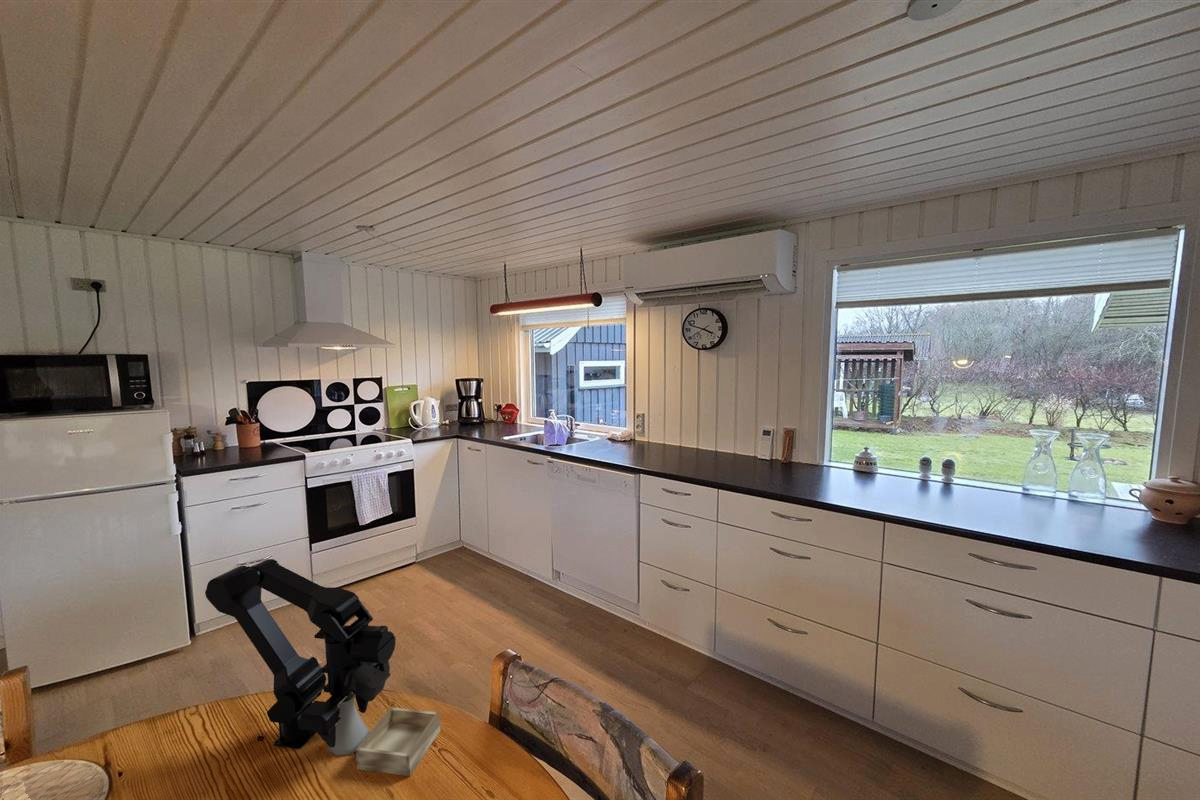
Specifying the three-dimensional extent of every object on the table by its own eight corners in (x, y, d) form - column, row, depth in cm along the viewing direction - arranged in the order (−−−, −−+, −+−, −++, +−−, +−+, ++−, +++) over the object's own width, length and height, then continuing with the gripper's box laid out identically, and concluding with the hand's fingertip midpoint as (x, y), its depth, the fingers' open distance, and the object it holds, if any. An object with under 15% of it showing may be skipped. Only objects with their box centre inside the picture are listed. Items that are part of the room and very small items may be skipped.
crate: (357, 768, 92) (355, 749, 91) (392, 724, 103) (390, 707, 102) (410, 776, 90) (408, 756, 89) (440, 730, 101) (439, 712, 100)
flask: (352, 759, 94) (349, 712, 93) (321, 754, 96) (317, 707, 95) (376, 731, 101) (373, 686, 100) (347, 726, 103) (343, 683, 102)
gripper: (345, 692, 86) (352, 772, 87) (405, 633, 104) (409, 700, 106) (292, 686, 88) (299, 765, 89) (359, 629, 106) (364, 695, 108)
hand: (348, 728), depth 98 cm, fingers open, 9 cm apart
